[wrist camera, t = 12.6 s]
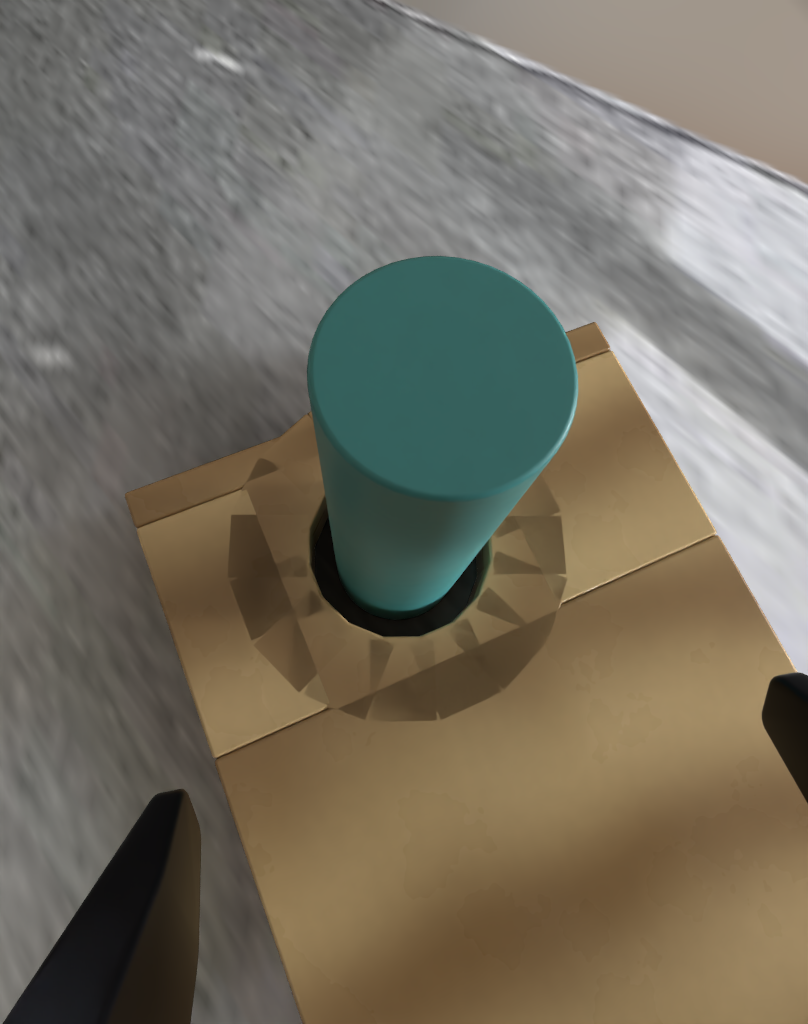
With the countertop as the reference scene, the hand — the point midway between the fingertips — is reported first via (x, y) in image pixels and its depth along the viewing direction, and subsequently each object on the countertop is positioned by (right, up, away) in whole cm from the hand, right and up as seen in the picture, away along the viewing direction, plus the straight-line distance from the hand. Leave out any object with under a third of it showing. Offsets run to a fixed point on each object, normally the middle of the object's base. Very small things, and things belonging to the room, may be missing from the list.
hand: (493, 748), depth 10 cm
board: (+2, -3, +8) cm, 8 cm away
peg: (-2, +2, +9) cm, 9 cm away
